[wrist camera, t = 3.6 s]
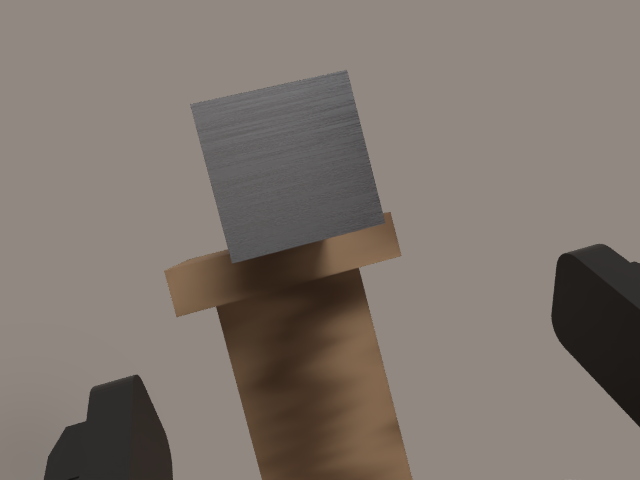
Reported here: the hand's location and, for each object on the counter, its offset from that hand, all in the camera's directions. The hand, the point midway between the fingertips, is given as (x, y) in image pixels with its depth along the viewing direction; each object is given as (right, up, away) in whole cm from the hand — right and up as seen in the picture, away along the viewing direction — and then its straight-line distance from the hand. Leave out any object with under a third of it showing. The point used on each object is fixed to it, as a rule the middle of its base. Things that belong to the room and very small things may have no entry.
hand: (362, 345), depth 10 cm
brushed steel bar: (-3, +2, +15) cm, 16 cm away
